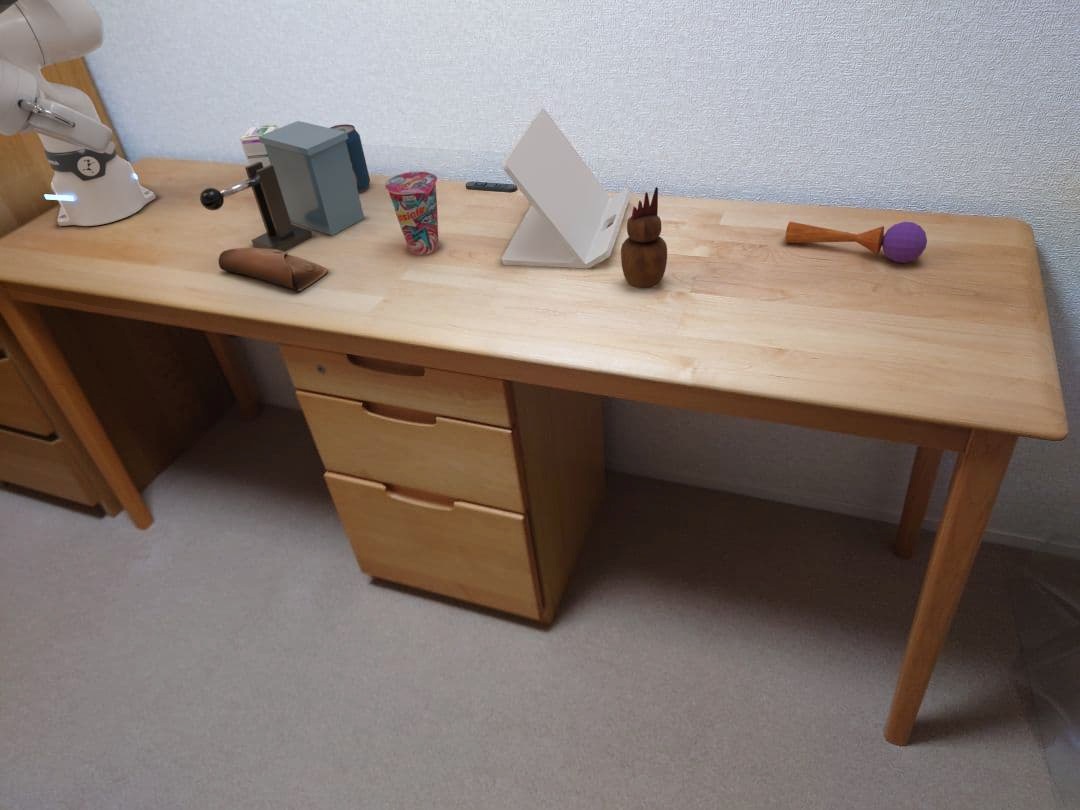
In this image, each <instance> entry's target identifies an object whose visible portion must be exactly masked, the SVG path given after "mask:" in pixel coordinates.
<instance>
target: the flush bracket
mask: <svg viewBox="0 0 1080 810" xmlns="http://www.w3.org/2000/svg"><path fill="white" fill-rule="evenodd" d="M244 169H245V172H246V175H247V178H248V180H249V179H251V178H253V177H255V174H256V172H257V175H258V178H259V182H260V183H259V184H256V185H254V186H252V187H251V190H252V193H253V195H254V199H255V202H256V205H257V209H258V210H259V215H260V217H261V220H262V223H263V226H264V229H265V233H263V234H261V235H259V236H257V237H255V238H253V239H251V243H252V245H253V247H254V248H264V249H276V250H281V251H284V252H287V250H289V249H292V248H294V247H295V246H297V245H299V244H301V243H303V242H305V241H307V240H309V239H311V238H313V233H312V230H310V229H307V228H305V227H301V226H300V225H299V226H298V225H297V224H292V222H291V221H290V218H289V215H288V212H287V209H286V205H285V202H284V199H283V196H282V192H281V189H280V186H279V183H278V180H277V176H276V173H275V170H274V167H273V165H268V166H266V167H263V164H262V162H257V163H255V164H252V165H250V166H249V165H247V166H245V167H244Z"/></svg>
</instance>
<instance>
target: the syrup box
mask: <svg viewBox="0 0 1080 810" xmlns="http://www.w3.org/2000/svg"><path fill="white" fill-rule="evenodd" d="M278 128H279V126H278V125H271V124H269V125H268V124H267V125H257V126H253V127H249V128H248V130H247V131H246V132H245V133H244V134H243V135H242V136H241V137H240V138H239V141H240V144H241V147H242V150H243V153H244V156H245V158H246V161H247V165H248V166H250V165H252V164H255V163H257V162H262V164H263V167H266V166H268V165H271V164H270V161H269V158H268V155H267V152H266V148H265V145H264V144H263V143H260V140H259V136H261V135H263V134H266V133H268V132H271V131H273V130H276V129H278Z"/></svg>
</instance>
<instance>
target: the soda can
mask: <svg viewBox="0 0 1080 810" xmlns="http://www.w3.org/2000/svg"><path fill="white" fill-rule="evenodd" d="M329 128H331V129H336V130H340V131H344V132H347V135H348V139H346V144H347V148H348V153H349V157H350V161H351V165H352V169H353V173H354V177H355V181H356V185H357V189H358V194H360V193H363V192H365V191H366V190H368V188H369V185H370V182H371V178H370V173H369V169H368V166H367V165H368V164H367V161H366V157H365V156H366V155H365V151H364V148H363V144H362V139H361V135H360V133H359V132H358V131H357V130H356V127H355V126H354V125H352V124H347V123H346V124H337V125H333V126H331V127H329Z"/></svg>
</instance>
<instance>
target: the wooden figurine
mask: <svg viewBox="0 0 1080 810" xmlns="http://www.w3.org/2000/svg"><path fill="white" fill-rule="evenodd" d="M637 203H638V204H637V207H636V206H633V208H632V211H631V216H629V218H628V219H627V222H626V232H627V235H628V237H627V238H626V239H625V240H624V241H623V242H622V244H621V248H620V263H621V269H622V273H623V276H624V279H625V280H626V283H627V284H628V285H629V286H630V287H633V288H636V289H641V290H642V289H645V290H646V289H651V288H654V287H656V286H658V285H660V283H661V282H662V280H663V277H664V275H665V272H666V268H667V262H668V247H667V246H668V245H667V242H666V241H665V240H664V239H663V238H662V236H660V235H661V233H662V220H661V217H660V216H659V215H658V213H659V212H658V211H659V207H658V206H659V187H658V186H655V188H654V192H653V195H652V198H651V202H650V199H649V192H647V191H646V192H645V193H644V198H643V202H642V200H638V202H637Z"/></svg>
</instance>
